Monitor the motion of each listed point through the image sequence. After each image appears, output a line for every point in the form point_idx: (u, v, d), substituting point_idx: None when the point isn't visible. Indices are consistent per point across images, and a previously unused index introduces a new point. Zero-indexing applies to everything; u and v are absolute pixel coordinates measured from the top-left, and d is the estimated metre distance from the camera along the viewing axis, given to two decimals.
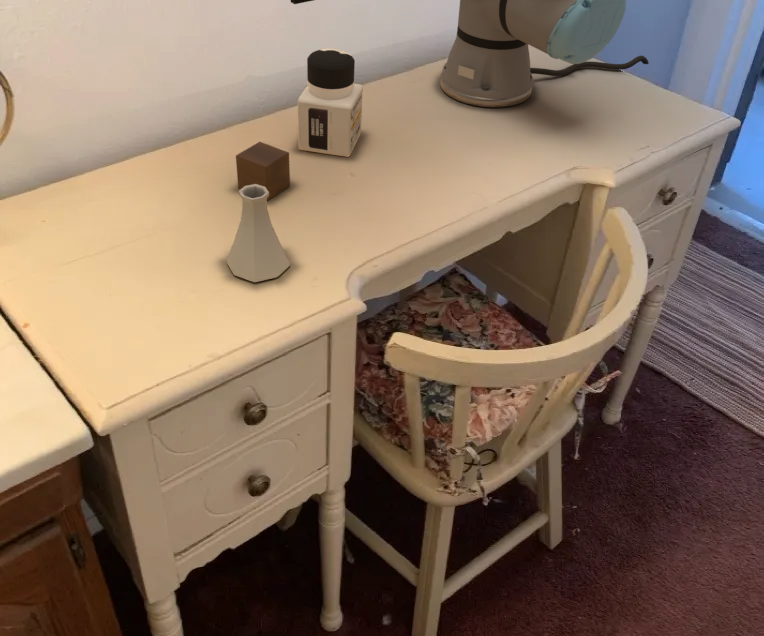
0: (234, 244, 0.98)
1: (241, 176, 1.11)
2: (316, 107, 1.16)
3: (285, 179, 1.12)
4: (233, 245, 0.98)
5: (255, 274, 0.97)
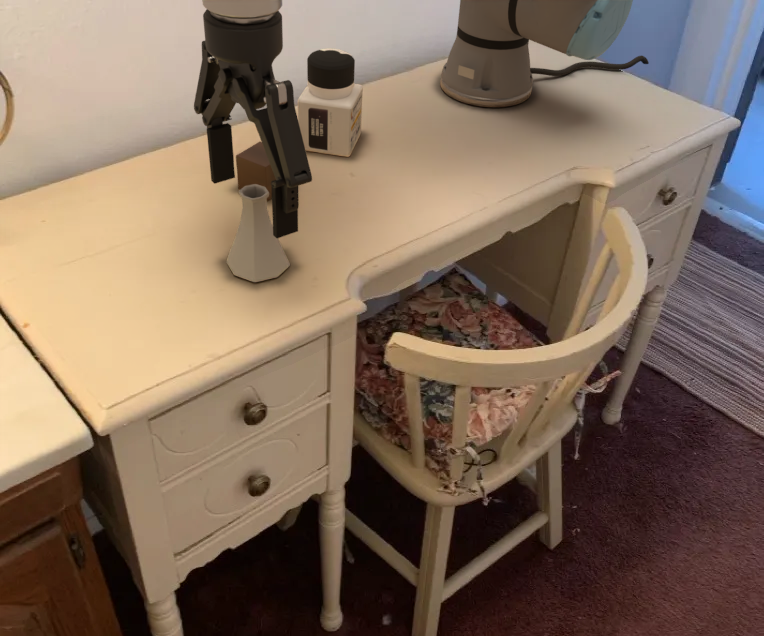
0: (234, 244, 0.98)
1: (241, 176, 1.11)
2: (316, 107, 1.16)
3: None
4: (233, 245, 0.98)
5: (255, 274, 0.97)
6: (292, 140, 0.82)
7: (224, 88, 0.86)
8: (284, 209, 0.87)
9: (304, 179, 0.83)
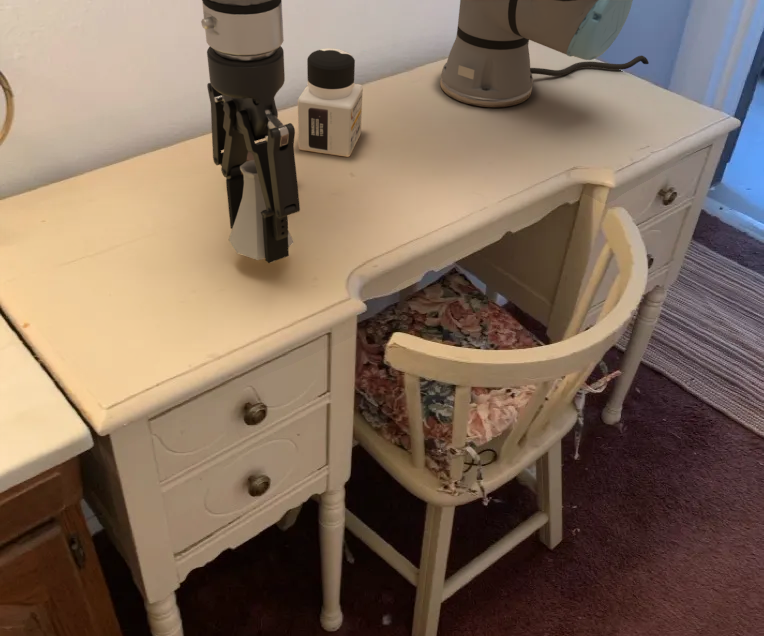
0: (236, 221, 0.96)
1: None
2: (316, 107, 1.16)
3: None
4: (235, 223, 0.96)
5: (258, 252, 0.95)
6: (287, 177, 0.86)
7: (231, 122, 0.88)
8: (274, 236, 0.92)
9: (292, 211, 0.89)
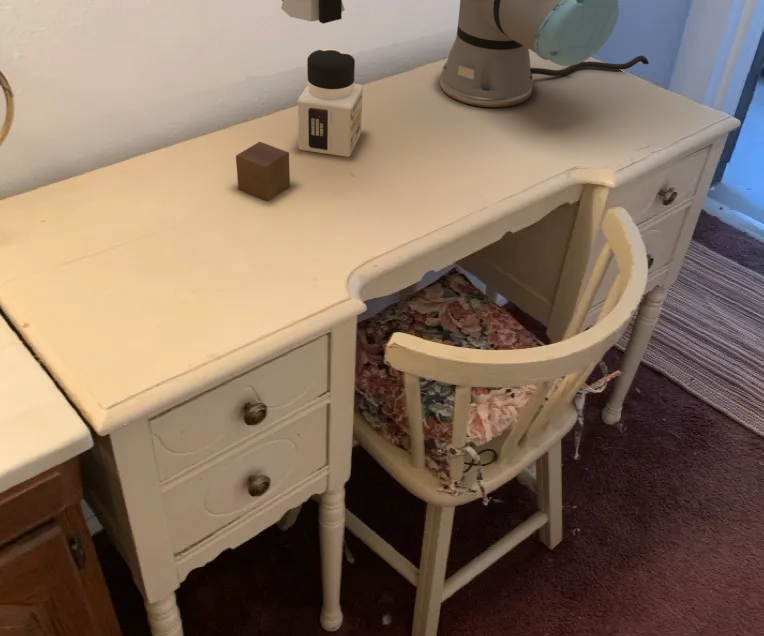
0: None
1: (241, 176, 1.11)
2: (316, 107, 1.16)
3: (285, 179, 1.12)
4: None
5: (312, 12, 0.97)
6: None
7: None
8: None
9: None
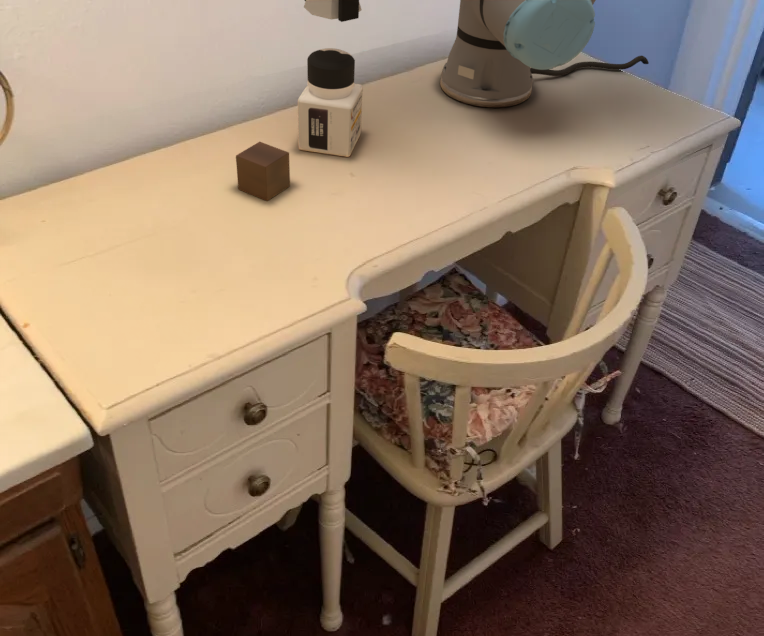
0: None
1: (241, 176, 1.11)
2: (316, 107, 1.16)
3: (285, 179, 1.12)
4: None
5: (332, 11, 1.07)
6: None
7: None
8: None
9: None
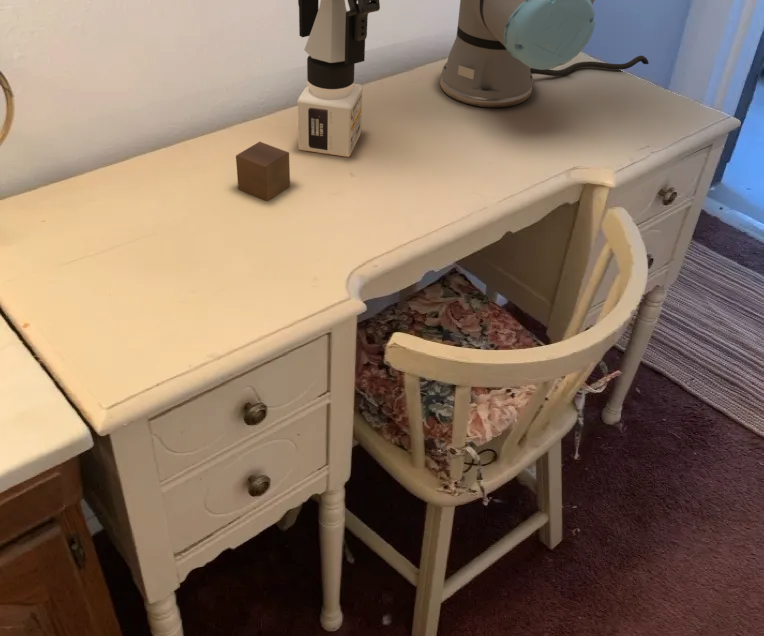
0: (313, 30, 1.12)
1: (241, 176, 1.11)
2: (316, 107, 1.16)
3: (285, 179, 1.12)
4: (311, 32, 1.12)
5: (331, 55, 1.11)
6: None
7: None
8: (355, 37, 1.07)
9: (374, 8, 1.04)
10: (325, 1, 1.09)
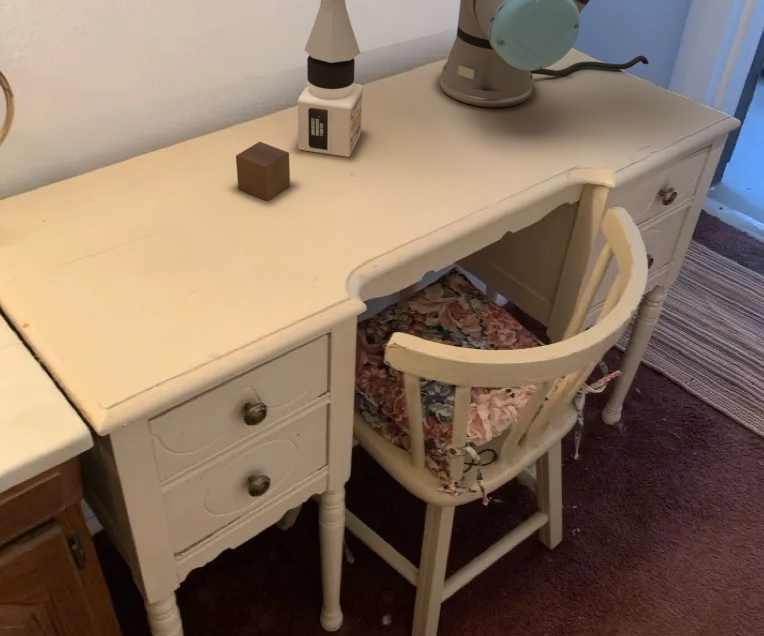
0: (313, 30, 1.12)
1: (241, 176, 1.11)
2: (316, 107, 1.16)
3: (285, 179, 1.12)
4: (311, 32, 1.12)
5: (332, 55, 1.11)
6: None
7: None
8: None
9: None
10: (325, 1, 1.09)
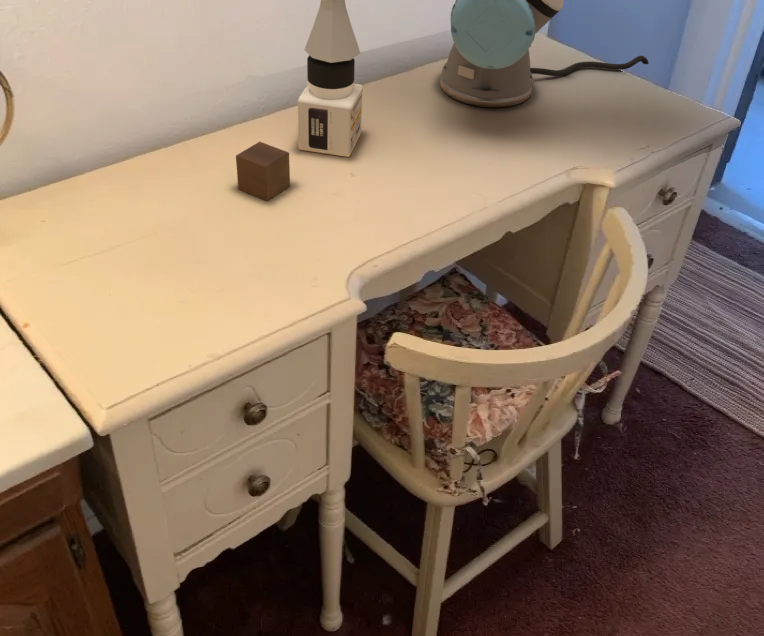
0: (313, 30, 1.12)
1: (241, 176, 1.11)
2: (316, 107, 1.16)
3: (285, 179, 1.12)
4: (311, 32, 1.12)
5: (332, 55, 1.11)
6: None
7: None
8: None
9: None
10: (325, 1, 1.09)
